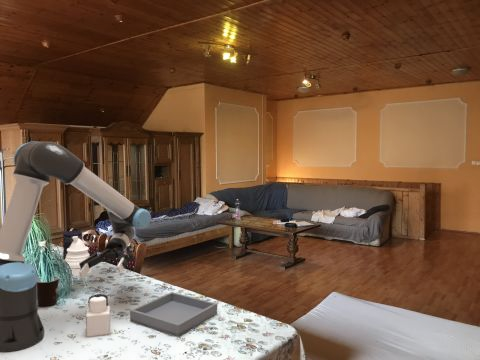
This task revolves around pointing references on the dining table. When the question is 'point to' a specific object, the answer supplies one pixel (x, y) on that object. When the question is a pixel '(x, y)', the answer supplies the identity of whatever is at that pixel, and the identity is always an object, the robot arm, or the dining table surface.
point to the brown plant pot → (47, 292)
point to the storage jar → (69, 240)
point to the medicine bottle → (98, 316)
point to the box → (173, 313)
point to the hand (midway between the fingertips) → (99, 273)
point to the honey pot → (77, 255)
